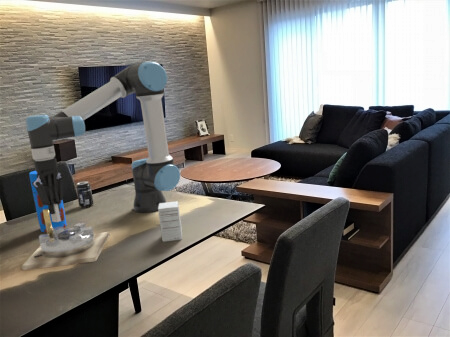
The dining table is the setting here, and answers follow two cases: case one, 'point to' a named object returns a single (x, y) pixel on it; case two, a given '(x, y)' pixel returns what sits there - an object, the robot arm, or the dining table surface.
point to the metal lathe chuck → (65, 239)
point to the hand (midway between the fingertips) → (56, 221)
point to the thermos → (41, 207)
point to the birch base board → (85, 256)
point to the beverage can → (84, 194)
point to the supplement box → (170, 221)
